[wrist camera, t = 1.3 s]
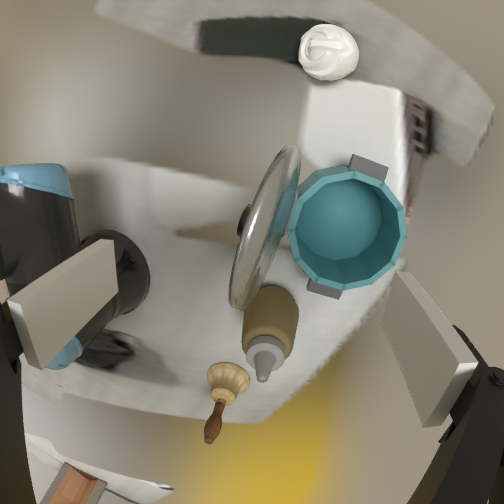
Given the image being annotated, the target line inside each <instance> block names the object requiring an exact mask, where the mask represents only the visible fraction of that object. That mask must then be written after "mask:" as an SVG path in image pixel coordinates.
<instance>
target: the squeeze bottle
mask: <svg viewBox="0 0 504 504" xmlns="http://www.w3.org/2000/svg"><path fill="white" fill-rule="evenodd" d="M298 318H299V310H298V306H297V304H296V302H295V300H294V299H293V297H292V296H291V295H290V294H289V293H288V292H287V291H286V290H285V289H284V288H281V287H278V286H267V287H264V288H262V289H260V290H259V291H258V292H257V294H256V296H255V298H254V299H253V301H252V302H251V304H250V305H249V306H248V307H247V308H246V309H245V310H244V321H243V331H242V349H243V351H244V352H245V354H246V360H247V362H248V363H249V365H250V366H251V367H252V368H254V369H255V370H256V376H257V380H258V381H259V382H266V381H267V379H268V377H269V375H270V373H271V371H275V370H277V369H279V368H280V367H281V366H282V365H283V363H284V361H285V359H286V358H287V357H289V355H290V353H291V351H292V349H293V344H294V339H295V334H296V329H297V323H298Z"/></svg>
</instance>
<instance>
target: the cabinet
mask: <svg viewBox="0 0 504 504" xmlns="http://www.w3.org/2000/svg"><path fill="white" fill-rule="evenodd" d="M106 486H107V482H105V481H103V480H101V479H98V478H96V477H94V476H92V475H90V474H88V473H85V472H83V471H81V470H79V469H77V468H75V467H73V466H71V465H70V464H68V463H66V462H65V463H64V465H63V466H62V468H61V469H60V471H59V473H58V474H57V476H56V477H55V479H54V481H53V482H52V484H51V486H50V488H49V489H48V491H47V492H46V494H45V496H44V498H43V499H42V501H41V502H40V504H98V501H99V500H100V498H101V496H102V493H103V492H104V490H105V488H106Z"/></svg>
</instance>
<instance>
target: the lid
mask: <svg viewBox="0 0 504 504" xmlns="http://www.w3.org/2000/svg"><path fill="white" fill-rule="evenodd" d="M300 168H301V150H300V149H299V148H297V147H294V146H290V145H287V146H285V147H284V148H283V149H282V150H281V151H280V152H279V153H278V154H277V156H276V157H275V159H274V160H273V162H272V164H271V165H270V167H269V169H268V171H267V173H266V174H265V176H264V178H263V181H262V183H261V185H260V187H259V189H258V191H257V194H256V196H255V198H254V201H253V203H252V205H250V204H248V205H247V206H246V208H245V209H244V211H243V213H242V215H241V218H240V221H239V224H238V229H237V235H238V236H240V241H239V244H238V248H237V251H236V255H235V259H234V263H233V268H232V273H231V278H230V285H229V303H230V306H231V307H232V308H235V309H237V310H240V311H244V310H245V309H246V308H247V307H248V306H249V305H250V304H251V302H252V301H253V299H254V298H255V296H256V294H257V292H258V291H259V289H260V287H261V285H262V283H263V281H264V279H265V277H266V275H267V272H268V270H269V268H270V266H271V263H272V261H273V259H274V256H275V254H276V251H277V249H278V246H279V243H280V241H281V238H282V237H283V235H284V232H285V229H286V226H287V223H288V220H289V217H290V213H291V210H292V207H293V204H294V201H295V197H296V194H295V193H296V189H297V184H298V180H299V174H300Z"/></svg>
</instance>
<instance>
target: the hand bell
mask: <svg viewBox="0 0 504 504" xmlns="http://www.w3.org/2000/svg"><path fill="white" fill-rule="evenodd" d="M207 378H208V381H209V383H210V385H211V386H212V390H211V398H212V399H213V400H214V401H215V402H216V403H215V407H214V411H213V413H212V415H211V416H210V417H209V419H208V420H207V422H206V425H205V428H204V436H205V439H204V441H205V443H207V444H212V443H213V441H214V440H215V439H216V438H217V436H218V435H219V433H220V430H221V426H222V418H221V416H222V413H223V410H224V407H225V405H230V404H232V403H233V402H234V401H235V399H236V396H237V395H238V394H239V393H242V392H244V391H245V390H246V389H247V388H248V386H249V384H250V378H249V375H248V374H247V372H246V371H245V370H244V369H242V368H241V367H239V366H238V365H235V364H232V363H217V364H214V365H213V366H211V367H210V368H209V370H208V372H207Z"/></svg>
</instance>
